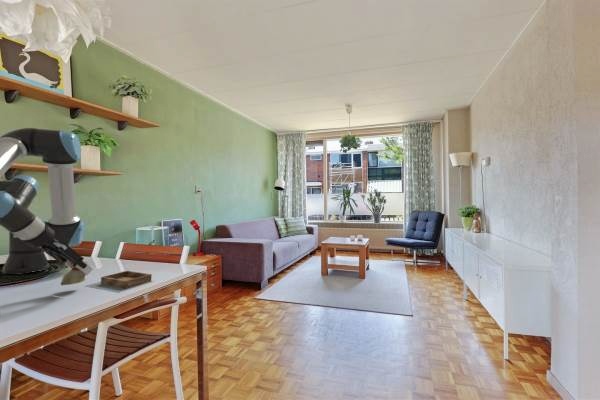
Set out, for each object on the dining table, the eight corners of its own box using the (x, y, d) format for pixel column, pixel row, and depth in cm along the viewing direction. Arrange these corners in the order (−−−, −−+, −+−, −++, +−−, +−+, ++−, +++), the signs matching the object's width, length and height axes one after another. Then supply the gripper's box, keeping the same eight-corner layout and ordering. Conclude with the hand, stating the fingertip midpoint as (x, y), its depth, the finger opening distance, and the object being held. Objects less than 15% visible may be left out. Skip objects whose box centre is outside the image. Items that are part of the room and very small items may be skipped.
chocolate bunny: (88, 282, 106) (89, 255, 106) (60, 285, 101) (61, 257, 101) (86, 278, 111) (87, 252, 110) (59, 282, 105) (60, 254, 105)
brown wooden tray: (100, 284, 114) (101, 277, 114) (127, 277, 125) (127, 270, 125) (126, 288, 110) (126, 281, 110) (151, 281, 121) (151, 274, 121)
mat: (84, 287, 111) (84, 286, 111) (122, 276, 126) (122, 276, 126) (118, 293, 105) (118, 292, 105) (153, 282, 120) (153, 281, 120)
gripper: (7, 238, 94) (61, 276, 110) (41, 243, 88) (94, 282, 104) (27, 221, 99) (77, 259, 115) (61, 225, 93) (108, 265, 109)
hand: (85, 270), depth 109 cm, fingers closed on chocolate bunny, 4 cm apart
